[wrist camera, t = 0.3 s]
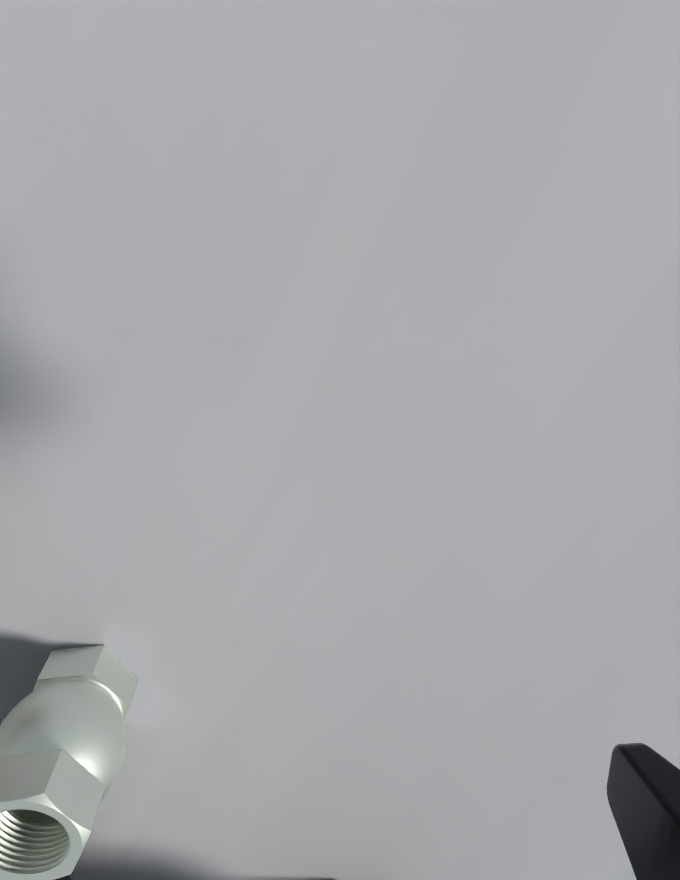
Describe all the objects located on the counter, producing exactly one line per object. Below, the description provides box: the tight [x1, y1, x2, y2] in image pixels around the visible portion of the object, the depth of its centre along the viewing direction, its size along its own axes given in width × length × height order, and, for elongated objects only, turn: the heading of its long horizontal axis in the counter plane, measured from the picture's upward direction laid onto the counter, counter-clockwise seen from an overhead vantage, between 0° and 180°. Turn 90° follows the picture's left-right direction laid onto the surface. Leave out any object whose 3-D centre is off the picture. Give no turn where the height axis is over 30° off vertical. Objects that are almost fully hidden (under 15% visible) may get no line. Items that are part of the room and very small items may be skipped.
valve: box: [0, 645, 138, 880], centre depth 23 cm, size 7×7×12 cm
